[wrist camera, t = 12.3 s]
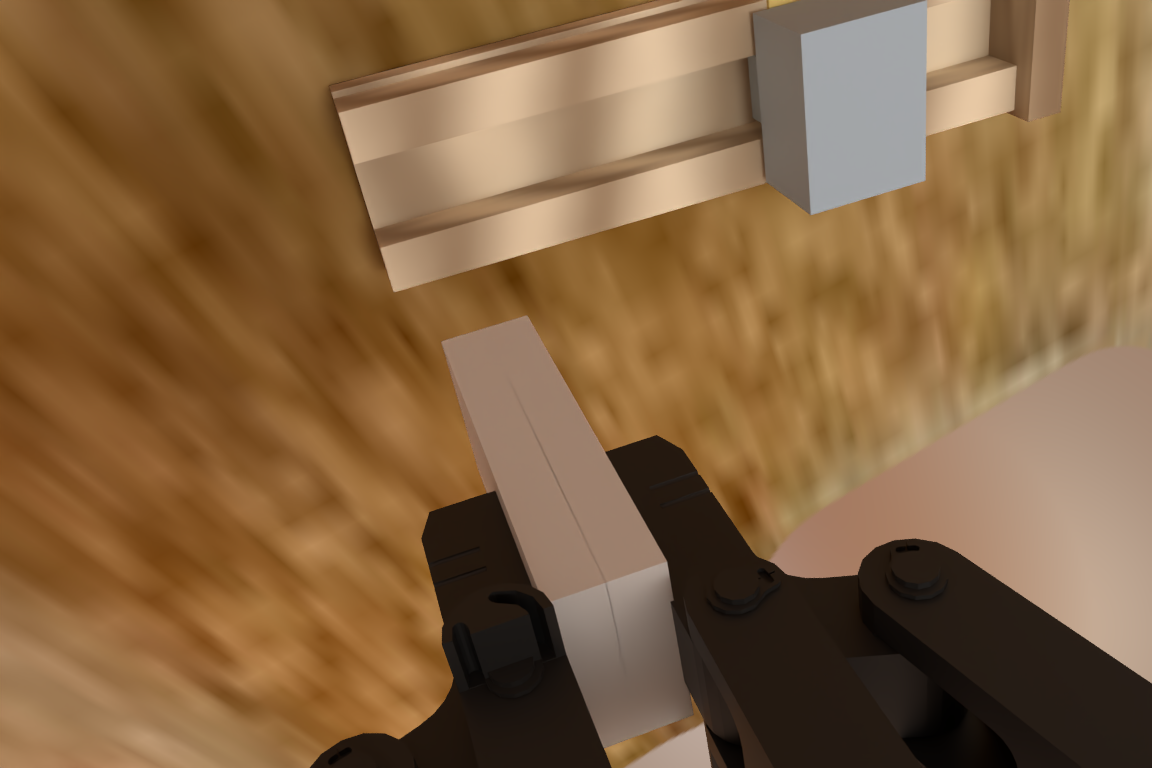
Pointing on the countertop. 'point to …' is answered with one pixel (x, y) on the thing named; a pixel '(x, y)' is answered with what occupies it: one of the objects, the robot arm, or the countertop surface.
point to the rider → (841, 98)
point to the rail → (626, 122)
